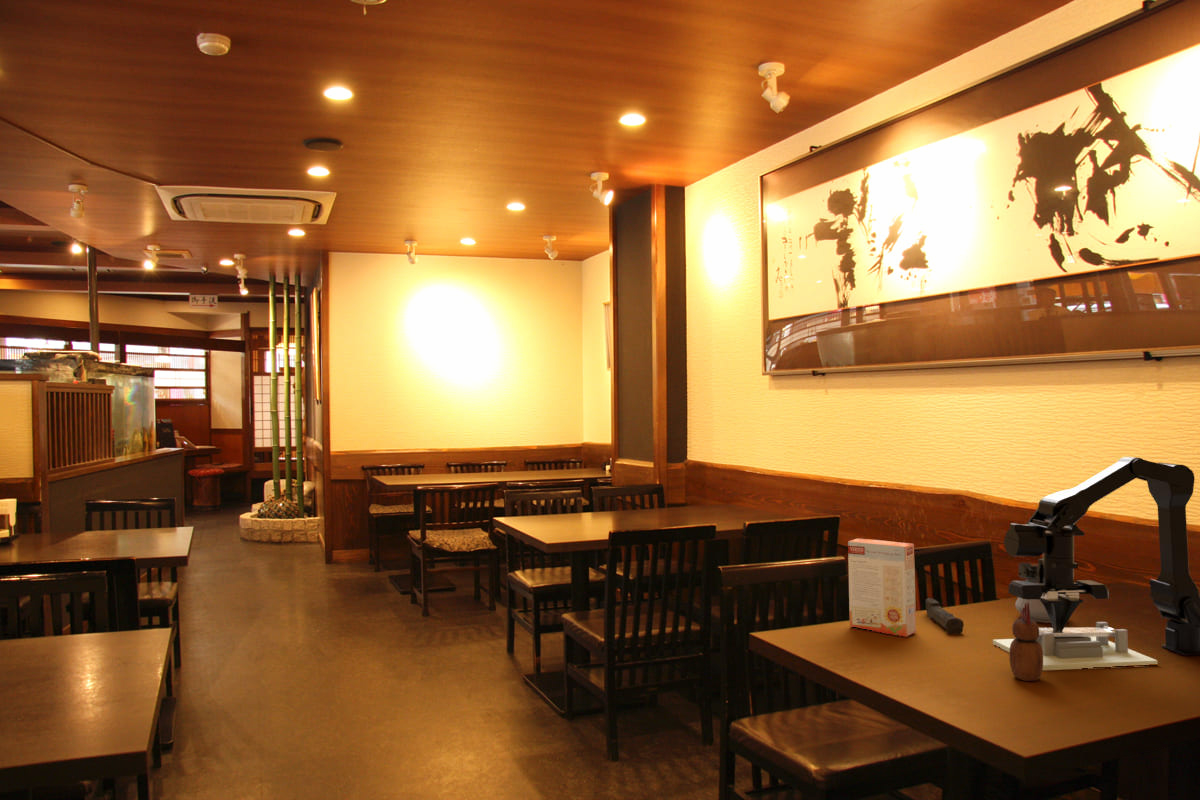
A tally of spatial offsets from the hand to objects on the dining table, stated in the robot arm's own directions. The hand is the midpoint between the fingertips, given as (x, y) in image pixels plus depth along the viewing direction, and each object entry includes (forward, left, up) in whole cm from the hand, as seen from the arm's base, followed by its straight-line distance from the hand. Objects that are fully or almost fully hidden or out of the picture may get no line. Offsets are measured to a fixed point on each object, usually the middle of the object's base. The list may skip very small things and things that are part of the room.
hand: (1057, 630), depth 172 cm
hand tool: (+12, -27, -6) cm, 30 cm away
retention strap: (-4, 0, -1) cm, 4 cm away
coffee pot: (-11, -24, -5) cm, 27 cm away
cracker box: (+28, -23, -5) cm, 37 cm away
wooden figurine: (+15, +13, -5) cm, 21 cm away
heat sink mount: (-3, 0, -5) cm, 6 cm away
